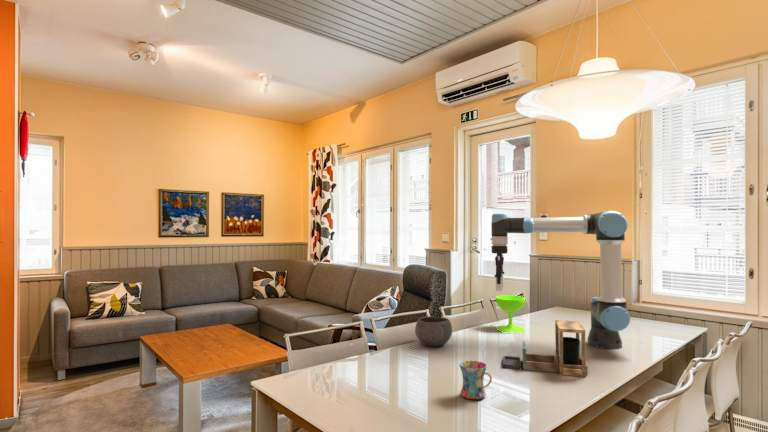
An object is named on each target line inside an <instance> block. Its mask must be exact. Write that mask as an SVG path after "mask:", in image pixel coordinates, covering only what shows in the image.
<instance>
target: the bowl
mask: <svg viewBox="0 0 768 432" xmlns="http://www.w3.org/2000/svg"><path fill="white" fill-rule="evenodd" d="M414 332H415V336H416V338H417V339H418V340H419V342H421V343H422V344H424V345H426V346H428V347H440V346H443V345H445V344H446V343H447V342H449V340H450V339H451V337H452V334H453V327H452V323H451V321H450V319H449V318H447V317H441V316H422V317H419V318H418V319H417V320H416V324H415V329H414Z"/></svg>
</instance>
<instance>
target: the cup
mask: <svg viewBox="0 0 768 432" xmlns="http://www.w3.org/2000/svg"><path fill="white" fill-rule="evenodd" d="M580 343H581V340H580V338H579V339H577V338H576V337H571V336H563V364H568V365H578V358H579V347H580V345H581V344H580Z"/></svg>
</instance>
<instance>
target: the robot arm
mask: <svg viewBox="0 0 768 432" xmlns="http://www.w3.org/2000/svg"><path fill="white" fill-rule="evenodd" d="M627 229H628V220H627V219H626V217H625V216H624V214H622V213H621V212H618V211H615V210H607V211H601V212H597V213H592V214H583V215H582V216H564V217H563V216H562V217H559V216H558V217H554V216H553V217H508V214H507V213H492V215H491V238H489V239H490V241H491V254H496V255H495V258H494V261H495V263H494V265H495V274H494V275H493V277H494V278H495V291H496V292H502V290H503V287H504V275H505V271H504V259H505V257H504V255H505V254H508V243H509V242H508V239H509V237H508V234H525V235H526V234H532V233H539V234H540V233H541V234H543V233H583V234H584V235H595V239H596V242H597V243H598V244H599V249H600V250H599V251H600V255H599V257H600V259H599V261H600V286H601V287H600V291H601V293H600V294H601V295H600V296H599V297H598V296H594V297H591V299H590V329H589V332H588V336H587V338H586V341H587V342H588V343H587V342H586V343H587V344H588V345H589V344H590V345H589V346H592V345H593V347H595V346H598V347H597V348H600V347H603V348H602V349H608V348H617V349H621V348H623V341H622V339H621V335H620V332H621V331H624V330H625V329H627V328H628V326H629V325H630V321H631V316H630V314H629V312H628V307H627V300H626V298H625V297H624V296H623V274H622V273H623V272H622V271H623V269H622V268H623V267H622V244H623V243H624V242H625V240H626V239H625V237H626V235H625V233H626V232H627ZM620 347H621V348H620Z"/></svg>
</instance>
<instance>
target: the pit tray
mask: <svg viewBox="0 0 768 432" xmlns="http://www.w3.org/2000/svg"><path fill="white" fill-rule="evenodd" d="M521 362H522V361H521V356H512V355H503V357H502V368H503V369H511V370H522V363H521Z"/></svg>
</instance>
